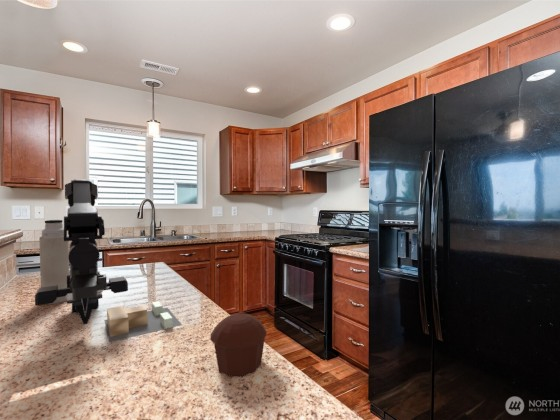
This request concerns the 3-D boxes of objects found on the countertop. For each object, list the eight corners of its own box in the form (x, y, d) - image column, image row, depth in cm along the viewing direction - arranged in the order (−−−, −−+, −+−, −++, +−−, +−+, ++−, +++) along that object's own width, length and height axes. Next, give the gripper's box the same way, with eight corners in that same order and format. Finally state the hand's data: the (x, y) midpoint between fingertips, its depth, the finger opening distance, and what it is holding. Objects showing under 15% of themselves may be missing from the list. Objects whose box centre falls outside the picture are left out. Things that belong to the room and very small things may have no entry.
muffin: (241, 345, 69) (241, 303, 69) (277, 361, 62) (277, 314, 62) (198, 367, 60) (198, 319, 60) (235, 389, 53) (235, 334, 53)
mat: (109, 345, 69) (109, 342, 69) (104, 322, 83) (104, 320, 83) (182, 327, 79) (182, 324, 79) (167, 309, 92) (167, 307, 92)
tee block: (110, 336, 72) (110, 320, 72) (107, 323, 80) (106, 308, 80) (149, 327, 77) (149, 312, 77) (143, 315, 85) (142, 302, 85)
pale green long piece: (164, 329, 76) (164, 319, 76) (152, 310, 90) (151, 302, 90) (172, 327, 78) (172, 317, 77) (158, 309, 91) (158, 301, 91)
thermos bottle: (59, 295, 107) (57, 219, 106) (75, 298, 104) (73, 219, 104) (35, 302, 99) (33, 220, 99) (51, 305, 97) (49, 220, 96)
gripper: (30, 273, 61) (32, 347, 61) (130, 262, 72) (131, 325, 72) (36, 264, 70) (38, 328, 71) (124, 255, 81) (125, 311, 81)
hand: (85, 323), depth 73 cm, fingers closed
